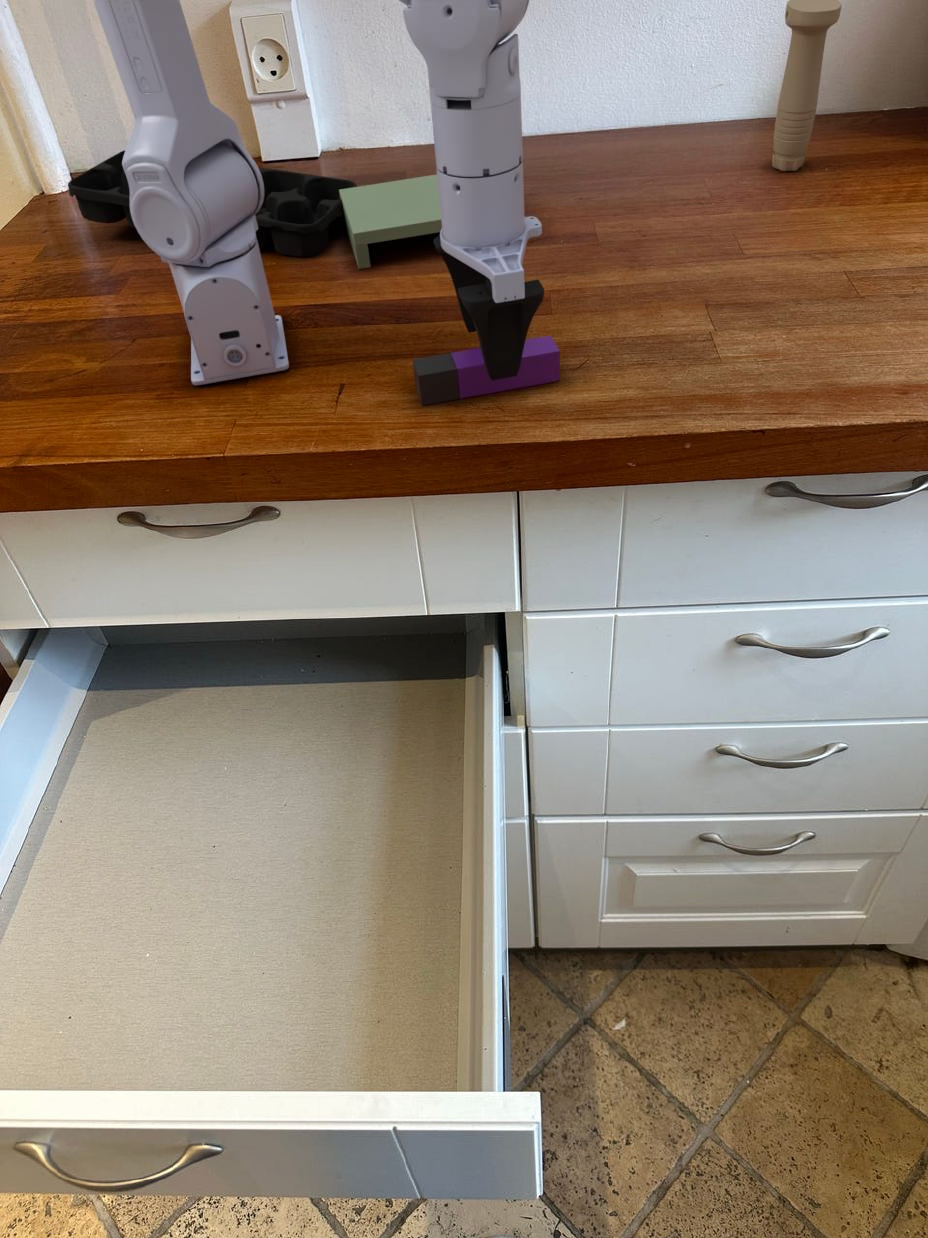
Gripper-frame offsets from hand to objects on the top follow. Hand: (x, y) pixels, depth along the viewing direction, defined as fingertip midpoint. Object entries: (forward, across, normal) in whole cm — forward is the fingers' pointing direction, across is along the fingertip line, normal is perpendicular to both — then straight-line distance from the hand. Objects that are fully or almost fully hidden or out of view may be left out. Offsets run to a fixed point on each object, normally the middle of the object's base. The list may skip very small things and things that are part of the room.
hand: (491, 351), depth 70 cm
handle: (+3, +33, -40) cm, 52 cm away
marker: (+3, 0, 0) cm, 3 cm away
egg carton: (+2, +41, +20) cm, 46 cm away
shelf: (+3, +31, 0) cm, 31 cm away
